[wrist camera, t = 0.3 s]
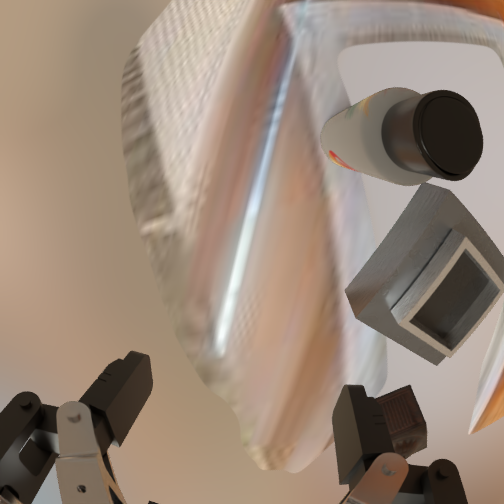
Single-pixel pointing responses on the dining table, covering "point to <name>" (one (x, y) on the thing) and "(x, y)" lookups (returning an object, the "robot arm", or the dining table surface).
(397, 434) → the bronze sculpture
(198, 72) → the dining table surface
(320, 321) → the dining table surface
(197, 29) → the dining table surface
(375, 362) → the dining table surface
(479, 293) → the gray square holder
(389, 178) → the lotion bottle
